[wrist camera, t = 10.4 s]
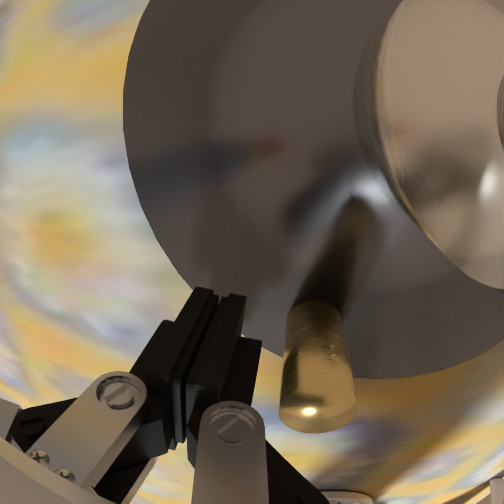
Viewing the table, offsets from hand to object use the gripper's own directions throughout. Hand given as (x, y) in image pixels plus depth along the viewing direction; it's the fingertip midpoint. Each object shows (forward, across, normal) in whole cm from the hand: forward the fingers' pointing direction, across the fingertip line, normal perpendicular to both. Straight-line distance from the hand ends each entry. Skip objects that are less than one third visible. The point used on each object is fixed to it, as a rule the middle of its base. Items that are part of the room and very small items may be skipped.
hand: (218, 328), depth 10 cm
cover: (+1, -7, -8) cm, 11 cm away
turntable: (+3, -6, -8) cm, 10 cm away
